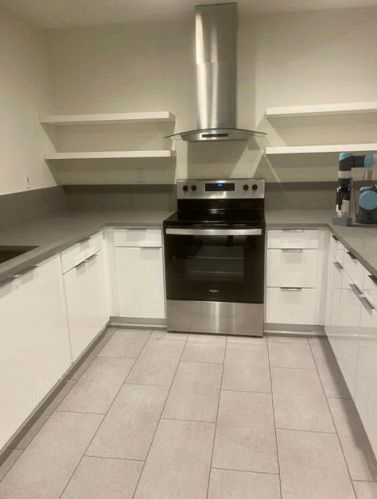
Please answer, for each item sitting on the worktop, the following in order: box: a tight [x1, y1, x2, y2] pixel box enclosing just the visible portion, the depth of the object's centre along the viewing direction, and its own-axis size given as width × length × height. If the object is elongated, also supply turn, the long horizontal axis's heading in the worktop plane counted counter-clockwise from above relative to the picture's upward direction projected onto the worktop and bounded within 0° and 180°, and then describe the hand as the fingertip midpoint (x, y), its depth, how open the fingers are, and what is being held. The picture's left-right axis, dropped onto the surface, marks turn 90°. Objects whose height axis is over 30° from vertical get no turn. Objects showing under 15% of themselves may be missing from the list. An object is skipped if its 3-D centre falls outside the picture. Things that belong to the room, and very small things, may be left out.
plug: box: [335, 199, 349, 218], centre depth 244 cm, size 4×6×12 cm
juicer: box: [348, 175, 358, 218], centre depth 257 cm, size 10×11×30 cm
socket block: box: [331, 215, 353, 227], centre depth 245 cm, size 6×10×5 cm, turn 35°
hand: (342, 214), depth 244 cm, fingers closed on plug, 4 cm apart
